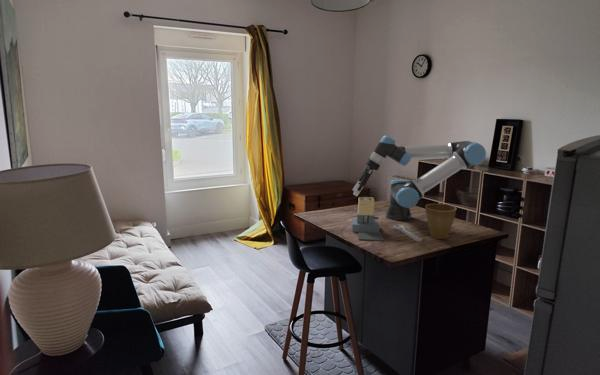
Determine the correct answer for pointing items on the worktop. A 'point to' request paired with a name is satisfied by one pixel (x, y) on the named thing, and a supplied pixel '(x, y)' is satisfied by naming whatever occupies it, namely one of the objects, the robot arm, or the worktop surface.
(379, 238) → the rubber mat
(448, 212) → the plant pot
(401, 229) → the adjustable wrench
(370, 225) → the vise
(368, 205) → the brass collar
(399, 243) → the worktop surface
